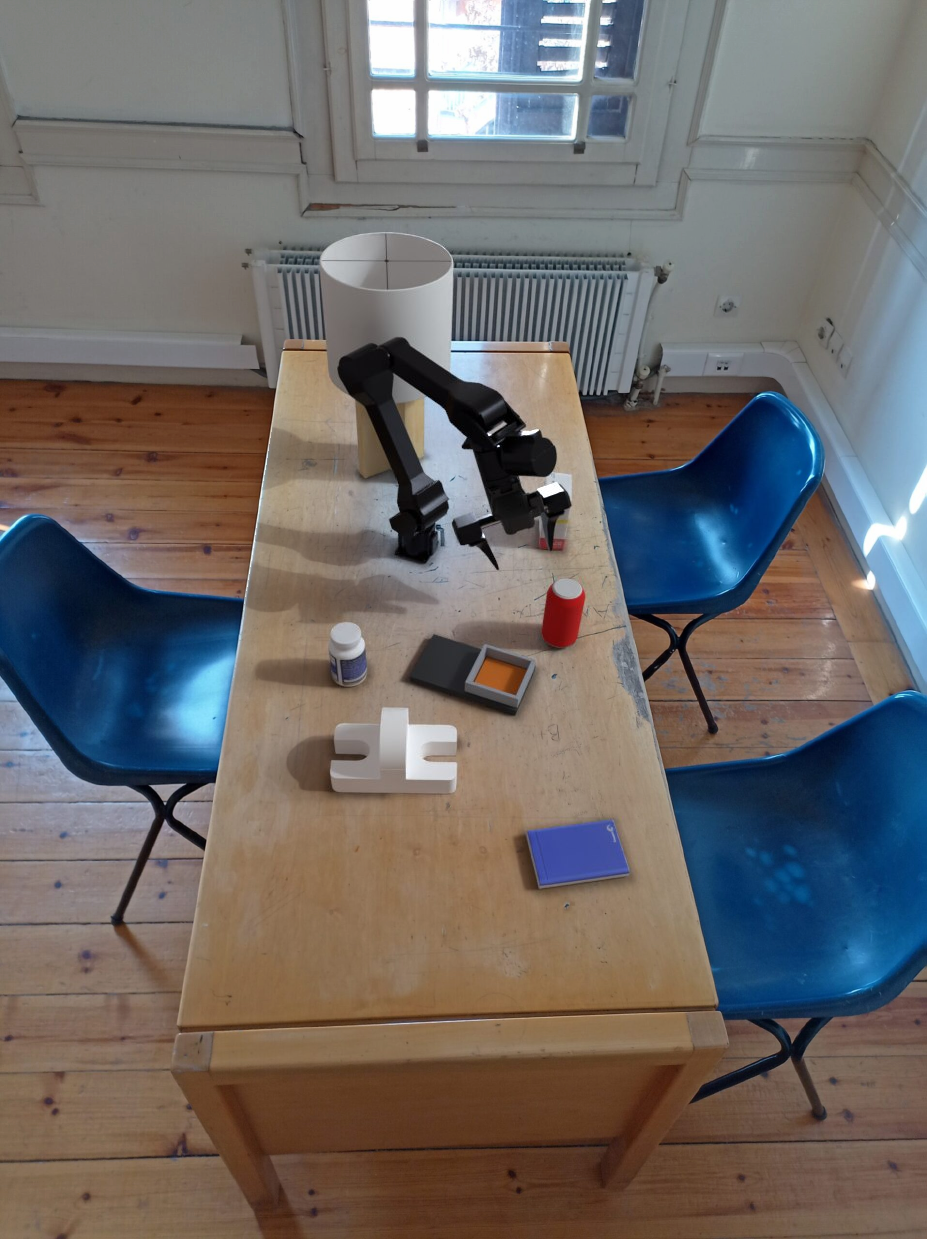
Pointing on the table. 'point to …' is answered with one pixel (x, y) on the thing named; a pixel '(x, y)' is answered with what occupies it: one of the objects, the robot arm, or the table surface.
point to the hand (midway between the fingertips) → (524, 559)
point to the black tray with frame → (475, 673)
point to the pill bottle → (347, 654)
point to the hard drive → (576, 854)
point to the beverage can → (563, 613)
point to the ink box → (563, 519)
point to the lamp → (387, 318)
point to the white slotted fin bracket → (394, 756)
